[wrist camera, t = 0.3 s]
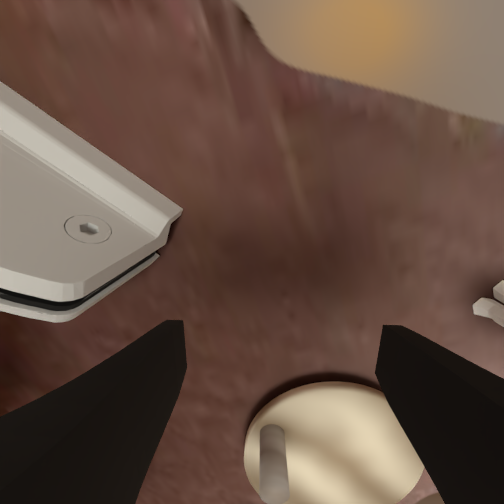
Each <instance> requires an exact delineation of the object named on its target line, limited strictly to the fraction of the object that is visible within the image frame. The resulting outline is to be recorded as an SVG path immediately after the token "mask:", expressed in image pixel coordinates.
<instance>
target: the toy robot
mask: <svg viewBox="0 0 504 504" xmlns="http://www.w3.org/2000/svg"><path fill="white" fill-rule="evenodd" d="M493 294H494V298H496V299H497V300H499V301H501V302H502V303H504V280H502V281H501V282H500V283H498V284H497V285H496V286H495V287H493ZM473 311H474V314H476V315H480V316H484V317H488V318H491V319H493V321H494V322H496V323H498V324H499V325H501V326H502V327H504V305H502V304H500V303H498V302H497V301H495V300H493V299H489V298H480V299H479V300H478V301H477V302H475V303H474V304H473Z"/></svg>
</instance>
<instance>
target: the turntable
mask: <svg viewBox="0 0 504 504" xmlns="http://www.w3.org/2000/svg"><path fill="white" fill-rule="evenodd" d="M244 466H245V471H246V474H247V477H248V479H249V481H250V483H251V485H252V486H253V488H254V489H255V490H256V492H257V493H258V494H259V496H260V498H261V499H262V500H263V501H264V502H265V503H268V504H396V503H397V502H399V501H400V500H401V499H403V498H404V497H405V496H406V495H407V494H408V493H409V492H410V491H411V490H412V489H413V488H414V486H415V485H416V484H417V482H418V480H419V478H420V477H421V475H422V472H423V469H424V465H423V463H422V462H421V460H420V458H419V456H418V455H417V453H416V451H415V449H414V448H413V446H412V444H411V443H410V441H409V439H408V437H407V436H406V434H405V432H404V430H403V429H402V427H401V425H400V423H399V422H398V420H397V418H396V416H395V415H394V413H393V411H392V409H391V408H390V406H389V404H388V402H387V400H386V398H385V395H384V393H383V392H381V391H379V390H376V389H374V388H371V387H368V386H365V385H361V384H356V383H351V382H340V381H329V382H318V383H312V384H308V385H303V386H300V387H297V388H294V389H291V390H289V391H287V392H285V393H283V394H281V395H279V396H277V397H276V398H274V399H273V400H271V401H270V402H269V403H268V404H266V405H265V406H264V407H263V408H262V409H261V410H260V411H259V412H258V413H257V415H256V416H255V417H254V419H253V420H252V422H251V424H250V426H249V428H248V431H247V434H246V438H245V449H244Z"/></svg>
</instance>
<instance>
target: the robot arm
mask: <svg viewBox="0 0 504 504" xmlns="http://www.w3.org/2000/svg"><path fill="white" fill-rule="evenodd" d="M186 369H187V361H186V349H185V337H184V325H183V320H166V321H164V322H162V323H161V324H159V325H158V326H156V327H155V328H153V329H152V330H150V331H149V332H147V333H146V334H144V335H143V336H141V337H140V338H138V339H137V340H136V341H134V342H133V343H131V344H130V345H128V346H127V347H125V348H124V349H122V350H121V351H119V352H118V353H116V354H114V355H113V356H111V357H110V358H108V359H106V360H105V361H103V362H102V363H100V364H98V365H97V366H95V367H94V368H92V369H90V370H89V371H87V372H85V373H84V374H82V375H80V376H79V377H77V378H75V379H73V380H72V381H70V382H68V383H66V384H65V385H63V386H61V387H59V388H57V389H55V390H53V391H51V392H50V393H48V394H46V395H44V396H42V397H40V398H38V399H36V400H34V401H32V402H30V403H28V404H26V405H24V406H22V407H20V408H18V409H16V410H14V411H12V412H10V413H7V414H5V415H3V416H1V417H0V504H135V503H136V500H137V497H138V494H139V491H140V488H141V486H142V483H143V480H144V478H145V475H146V473H147V470H148V468H149V465H150V463H151V460H152V458H153V456H154V453H155V451H156V449H157V446H158V444H159V442H160V439H161V437H162V434H163V432H164V430H165V427H166V425H167V423H168V420H169V418H170V415H171V413H172V411H173V408H174V406H175V403H176V401H177V399H178V396H179V393H180V390H181V386H182V383H183V380H184V376H185V372H186ZM375 374H376V376H377V379H378V381H379V384H380V386H381V389H382V391H383V393H384V395H385V398H386V400H387V402H388V404H389V406H390V408H391V409H392V411H393V413H394V415H395V416H396V418H397V420H398V422H399V423H400V425H401V427H402V429H403V430H404V432H405V434H406V436H407V437H408V439H409V441H410V443H411V444H412V446H413V448H414V449H415V451H416V453H417V455H418V456H419V458H420V460H421V462H422V463H423V465H424V467H425V468H426V470H427V472H428V474H429V475H430V477H431V479H432V481H433V482H434V484H435V486H436V488H437V490H438V492H439V493H440V495H441V497H442V499H443V501H444V503H445V504H504V379H503V378H501V377H499V376H497V375H495V374H493V373H491V372H489V371H487V370H485V369H483V368H481V367H479V366H478V365H476V364H474V363H472V362H470V361H468V360H466V359H464V358H463V357H461V356H459V355H457V354H455V353H453V352H451V351H450V350H448V349H446V348H444V347H442V346H440V345H439V344H437V343H435V342H433V341H431V340H429V339H427V338H426V337H424V336H422V335H420V334H418V333H416V332H414V331H412V330H410V329H408V328H406V327H403V326H401V325H383V329H382V335H381V341H380V346H379V352H378V358H377V364H376V370H375Z"/></svg>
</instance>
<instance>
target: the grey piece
mask: <svg viewBox="0 0 504 504" xmlns="http://www.w3.org/2000/svg"><path fill="white" fill-rule="evenodd" d="M182 211H183V209H182V208H181V207H179V206H178V205H177V204H175V203H174V202H172V201H171V200H169V199H168V198H167V197H165V196H164V195H162V194H161V193H159V192H158V191H157V190H155V189H154V188H152V187H151V186H149V185H148V184H147V183H145V182H144V181H142V180H141V179H139V178H138V177H137V176H135V175H134V174H132V173H131V172H129V171H128V170H127V169H125V168H124V167H122V166H121V165H119V164H118V163H117V162H115V161H114V160H112V159H111V158H109V157H108V156H106V155H105V154H104V153H102V152H101V151H99V150H98V149H96V148H95V147H94V146H92V145H91V144H89V143H88V142H86V141H85V140H84V139H82V138H81V137H79V136H78V135H76V134H75V133H74V132H72V131H71V130H69V129H68V128H66V127H65V126H64V125H62V124H61V123H59V122H58V121H56V120H55V119H54V118H52V117H51V116H49V115H48V114H46V113H45V112H44V111H42V110H41V109H39V108H38V107H36V106H35V105H33V104H32V103H31V102H29V101H28V100H26V99H25V98H23V97H22V96H21V95H19V94H18V93H16V92H15V91H13V90H12V89H11V88H9V87H8V86H6V85H5V84H3V83H2V82H1V81H0V311H3V312H7V313H12V314H16V315H20V316H24V317H28V318H34V319H39V320H44V321H50V322H65V321H69V320H71V319H73V318H75V317H77V316H78V315H80V314H81V313H83V312H84V311H85V310H87V309H88V308H90V307H91V306H93V305H94V304H95V303H97V302H98V301H100V300H101V299H102V298H104V297H105V296H107V295H108V294H110V293H111V292H112V291H114V290H115V289H117V288H118V287H120V286H121V285H122V284H124V283H125V282H127V281H128V280H129V279H131V278H132V277H134V276H135V275H137V274H138V273H139V272H141V271H142V270H144V269H145V268H147V267H148V266H149V265H151V264H152V263H153V262H154V261H155V260H156V259H157V258H158V257H159V256H160V255H158V254H157V253H156V250H158V249H159V248H161V247H162V246H164V245H165V244H166V242H167V238H168V233H169V229H170V225H171V223H172V222H173V221H175V220H176V219H177V218H178V217H179V216H181V214H182Z"/></svg>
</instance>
